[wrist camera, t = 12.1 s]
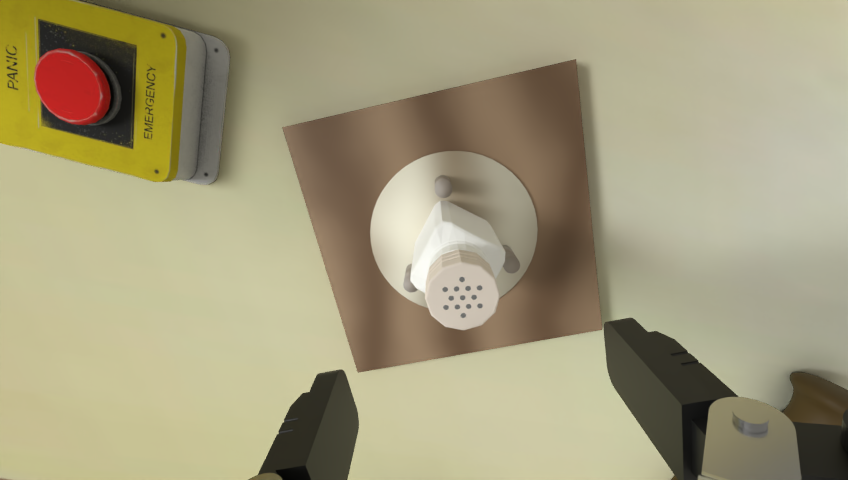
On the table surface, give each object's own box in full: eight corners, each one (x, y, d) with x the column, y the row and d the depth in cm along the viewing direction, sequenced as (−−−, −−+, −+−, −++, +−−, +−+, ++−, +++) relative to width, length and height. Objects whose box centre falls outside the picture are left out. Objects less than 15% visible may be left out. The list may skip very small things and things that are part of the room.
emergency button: (182, 199, 23) (-86, 132, 22) (221, 187, 27) (-3, 130, 26) (195, 26, 20) (-110, -57, 19) (236, 42, 24) (-13, -26, 23)
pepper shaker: (411, 248, 26) (400, 316, 17) (438, 195, 25) (442, 237, 16) (464, 273, 27) (481, 353, 17) (493, 222, 25) (527, 278, 16)
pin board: (360, 364, 30) (350, 396, 27) (288, 127, 25) (264, 128, 22) (596, 322, 29) (619, 350, 25) (570, 61, 24) (594, 51, 20)
